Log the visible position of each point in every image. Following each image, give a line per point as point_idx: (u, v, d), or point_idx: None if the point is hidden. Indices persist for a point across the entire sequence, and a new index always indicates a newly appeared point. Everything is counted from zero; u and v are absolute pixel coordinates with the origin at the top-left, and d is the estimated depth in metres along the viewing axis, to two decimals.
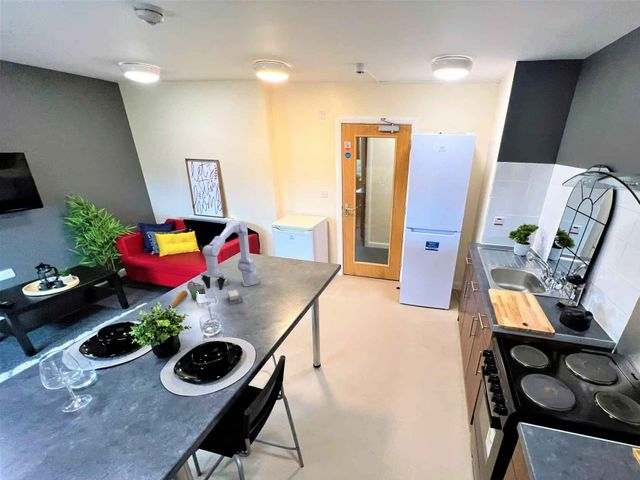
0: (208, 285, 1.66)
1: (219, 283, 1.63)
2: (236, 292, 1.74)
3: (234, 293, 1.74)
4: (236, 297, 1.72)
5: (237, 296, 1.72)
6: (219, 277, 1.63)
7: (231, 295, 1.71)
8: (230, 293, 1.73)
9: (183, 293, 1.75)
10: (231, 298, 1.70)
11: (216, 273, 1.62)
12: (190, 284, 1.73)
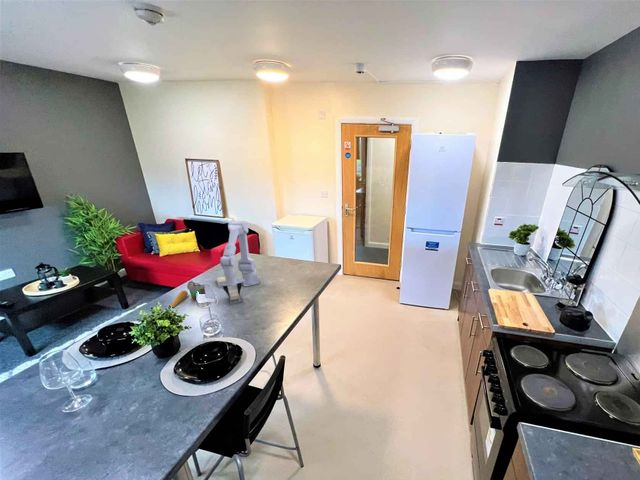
0: None
1: (239, 289, 1.73)
2: (236, 292, 1.74)
3: (234, 293, 1.74)
4: (236, 297, 1.72)
5: (237, 296, 1.72)
6: None
7: (231, 295, 1.71)
8: (230, 293, 1.73)
9: (183, 293, 1.75)
10: (231, 298, 1.70)
11: (236, 280, 1.71)
12: (190, 284, 1.73)
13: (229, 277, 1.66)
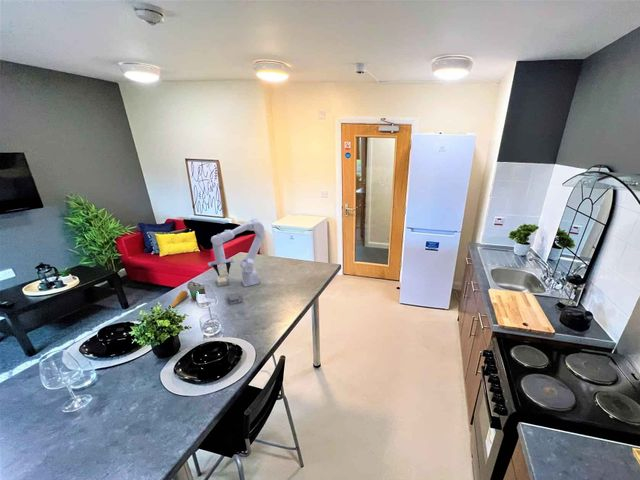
0: (218, 272, 1.83)
1: (228, 268, 1.84)
2: (225, 271, 1.85)
3: (224, 271, 1.85)
4: (226, 276, 1.83)
5: (226, 274, 1.83)
6: (226, 262, 1.83)
7: (220, 273, 1.82)
8: (220, 272, 1.84)
9: (183, 293, 1.75)
10: (220, 276, 1.81)
11: (225, 259, 1.82)
12: (190, 284, 1.73)
13: (218, 256, 1.77)
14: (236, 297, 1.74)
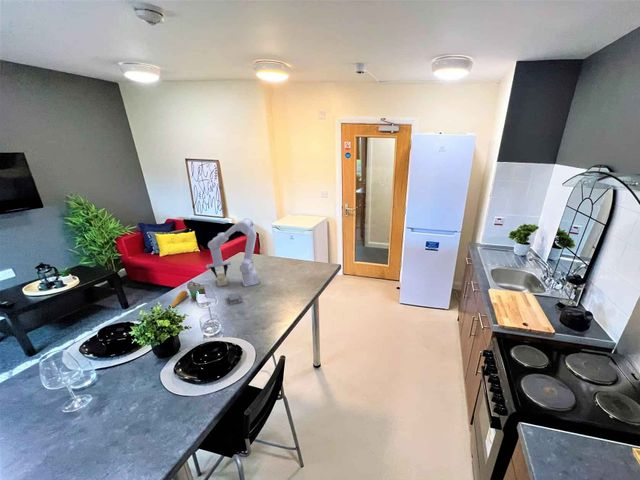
0: None
1: (225, 270, 1.93)
2: (222, 273, 1.94)
3: (221, 273, 1.94)
4: (223, 277, 1.92)
5: (223, 276, 1.92)
6: (224, 265, 1.92)
7: (218, 275, 1.91)
8: (217, 274, 1.93)
9: (183, 293, 1.75)
10: (218, 278, 1.90)
11: (222, 262, 1.91)
12: (190, 284, 1.73)
13: (216, 259, 1.86)
14: (236, 297, 1.74)
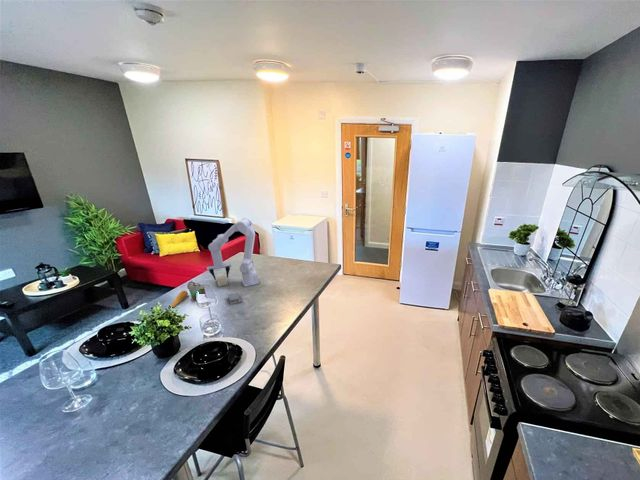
0: None
1: (227, 271, 1.94)
2: (223, 275, 1.95)
3: (222, 276, 1.94)
4: (223, 280, 1.92)
5: (224, 279, 1.92)
6: (226, 267, 1.93)
7: (219, 278, 1.92)
8: (218, 276, 1.94)
9: (183, 293, 1.75)
10: (218, 280, 1.91)
11: (223, 264, 1.91)
12: (190, 284, 1.73)
13: (216, 261, 1.87)
14: (236, 297, 1.74)
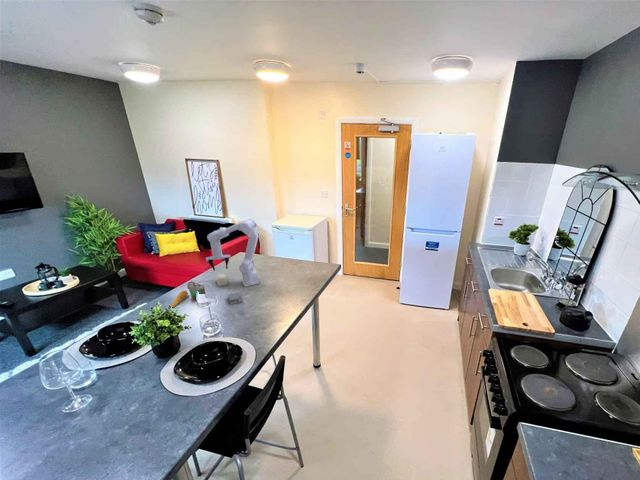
0: (214, 267, 1.92)
1: (226, 263, 1.93)
2: (223, 275, 1.95)
3: (222, 276, 1.94)
4: (223, 280, 1.92)
5: (224, 279, 1.92)
6: (225, 258, 1.92)
7: (219, 278, 1.92)
8: (218, 276, 1.94)
9: (183, 293, 1.75)
10: (218, 280, 1.91)
11: (222, 255, 1.90)
12: (190, 284, 1.73)
13: (215, 251, 1.86)
14: (236, 297, 1.74)
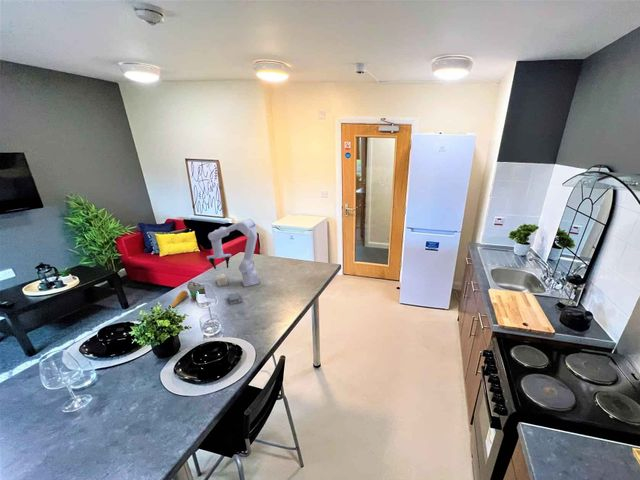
0: (215, 266, 1.94)
1: (227, 262, 1.94)
2: (223, 275, 1.95)
3: (222, 276, 1.94)
4: (223, 280, 1.92)
5: (224, 279, 1.92)
6: (226, 257, 1.94)
7: (219, 278, 1.92)
8: (218, 276, 1.94)
9: (183, 293, 1.75)
10: (218, 280, 1.91)
11: (223, 254, 1.92)
12: (190, 284, 1.73)
13: (216, 250, 1.88)
14: (236, 297, 1.74)
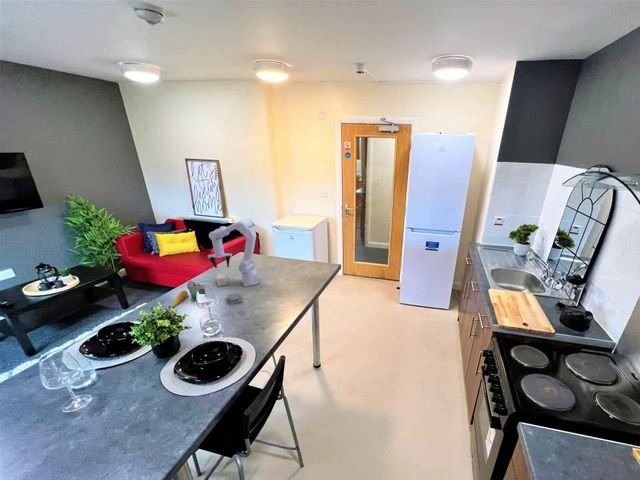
0: (215, 265, 1.95)
1: (227, 261, 1.95)
2: (223, 275, 1.95)
3: (222, 276, 1.94)
4: (223, 280, 1.92)
5: (224, 279, 1.92)
6: (226, 256, 1.95)
7: (219, 278, 1.92)
8: (218, 276, 1.94)
9: (183, 293, 1.75)
10: (218, 280, 1.91)
11: (223, 253, 1.93)
12: (190, 284, 1.73)
13: (216, 249, 1.89)
14: (236, 297, 1.74)
